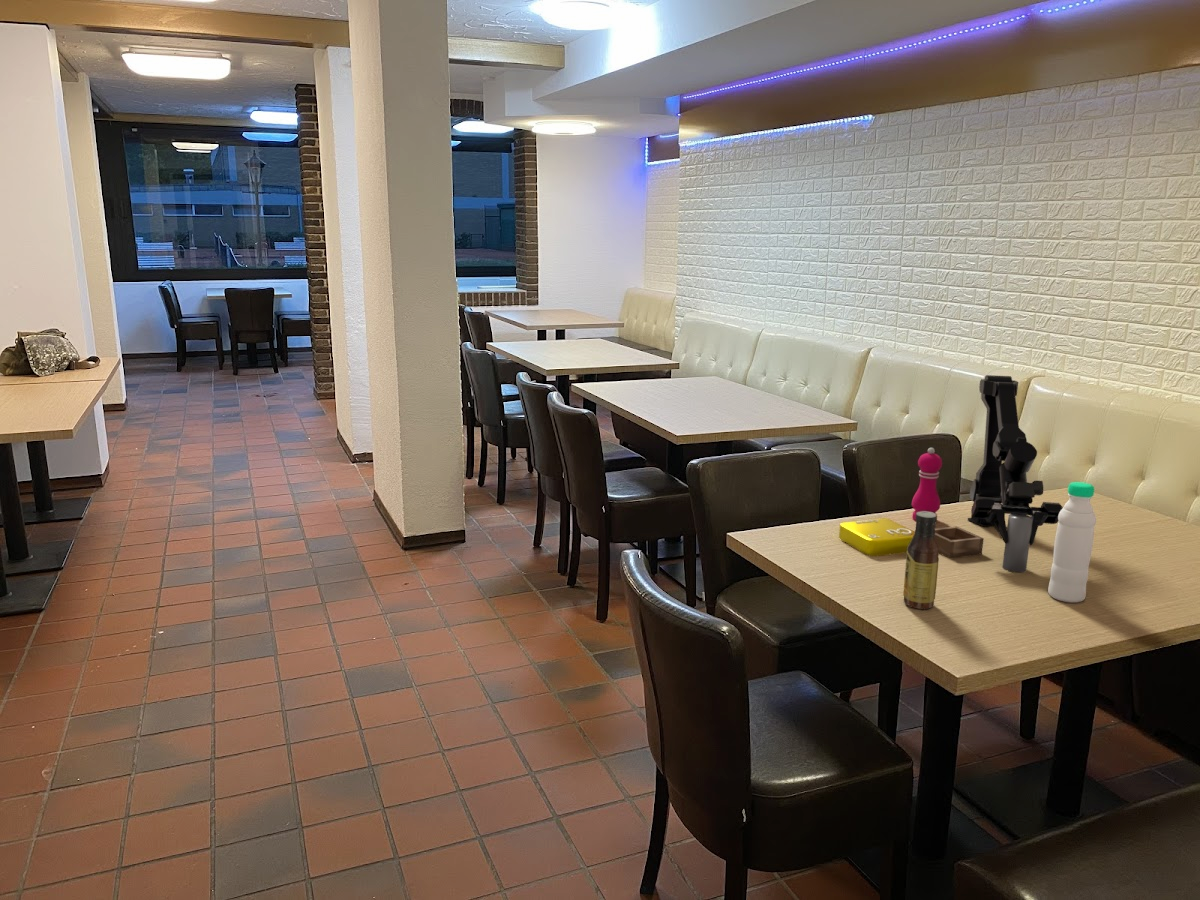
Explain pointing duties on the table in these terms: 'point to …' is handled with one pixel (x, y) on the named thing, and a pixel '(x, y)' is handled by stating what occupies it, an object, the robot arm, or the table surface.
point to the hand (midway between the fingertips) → (1018, 543)
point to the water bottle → (1073, 545)
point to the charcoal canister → (1017, 543)
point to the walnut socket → (958, 542)
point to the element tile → (876, 536)
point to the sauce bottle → (922, 563)
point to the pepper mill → (927, 484)
